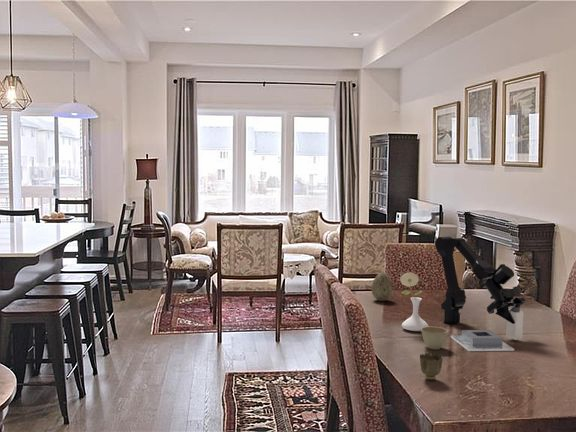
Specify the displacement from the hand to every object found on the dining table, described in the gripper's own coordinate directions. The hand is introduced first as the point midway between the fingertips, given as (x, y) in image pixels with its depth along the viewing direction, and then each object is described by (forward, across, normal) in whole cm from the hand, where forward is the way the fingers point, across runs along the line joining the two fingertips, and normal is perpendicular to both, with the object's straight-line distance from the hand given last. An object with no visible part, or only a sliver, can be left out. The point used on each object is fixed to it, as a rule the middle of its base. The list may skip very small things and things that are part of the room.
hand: (517, 322), depth 257 cm
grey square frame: (+2, -16, +9) cm, 18 cm away
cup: (+16, -65, -5) cm, 67 cm away
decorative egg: (-54, +3, +66) cm, 86 cm away
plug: (+4, 0, +6) cm, 7 cm away
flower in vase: (-18, -24, +30) cm, 43 cm away
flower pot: (-2, -37, +13) cm, 39 cm away
